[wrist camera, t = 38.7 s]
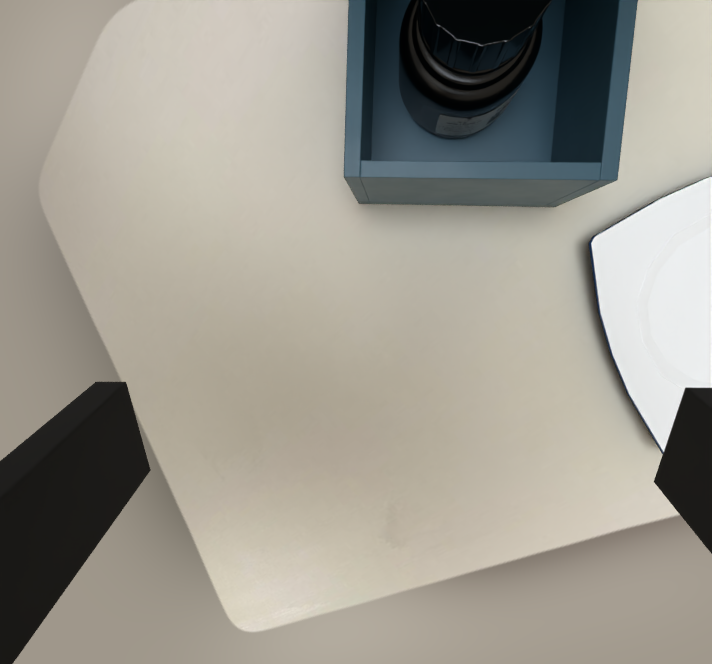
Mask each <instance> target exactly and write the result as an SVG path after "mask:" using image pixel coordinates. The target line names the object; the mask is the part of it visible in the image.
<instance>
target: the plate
mask: <svg viewBox="0 0 712 664" xmlns="http://www.w3.org/2000/svg"><path fill="white" fill-rule="evenodd" d="M589 250H590V257H591V264H592V271H593V278H594V285H595V292H596V299H597V306H598V313H599V316H600V320H601V323H602V327H603V330H604V334H605V337H606V341H607V344H608V348H609V351H610V354H611V357H612V359H613V361H614V364H615V366H616V368H617V371H618V373H619V376H620V378H621V380H622V383H623V385H624V387H625V390H626V392H627V394H628V396H629V398H630V399H631V401H632V403H633V404H634V406H635V408H636V410H637V411H638V413H639V415H640V416H641V418H642V420H643V422H644V423H645V425H646V427H647V428H648V430H649V432H650V434H651V435H652V437H653V439H654V440H655V442H656V444H657V446H658V447H659V449H660V451H661V452H662V454H663V453H664V450H665V447H666V444H667V441H668V438H669V435H670V432H671V429H672V426H673V423H674V420H675V417H676V414H677V411H678V408H679V405H680V402H681V399H682V396H683V393H684V390H685V388H712V176H711V177H708V178H705V179H703V180H700V181H698V182H696V183H694V184H691V185H689V186H687V187H685V188H682V189H680V190H678V191H675V192H673V193H671V194H669V195H666V196H664V197H662V198H660V199H657V200H656V201H654V202H652V203H650V204H649V205H647V206H645V207H643V208H642V209H640V210H638V211H637V212H635V213H633V214H631V215H630V216H628V217H626V218H624V219H623V220H621V221H619V222H617V223H616V224H614V225H612V226H610V227H609V228H607V229H605V230H603V231H602V232H600V233H598V234H596V235H595V236H593V237H592V238H591V240H590V242H589Z"/></svg>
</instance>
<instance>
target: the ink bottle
mask: <svg viewBox="0 0 712 664" xmlns="http://www.w3.org/2000/svg"><path fill="white" fill-rule="evenodd" d="M551 1H552V0H410V2H409V4H408V6H407V9H406V11H405V14H404V17H403V20H402V24H401V28H400V35H399V89H400V94H401V97H402V100H403V103H404V105H405V107H406V109H407V111H408V112H409V114H410V115H411V117H412V118H413V119H414V120H415V121H416V122H417V123H418V124H419V125H420V126H421V127H423V128H424V129H426V130H427V131H429V132H431V133H433V134H435V135H438V136H441V137H445V138H463V137H468V136H471V135H474V134H476V133H478V132H480V131H482V130H484V129H485V128H487V127H488V126H490V125H491V124H492V123H493V122H494V121H495V120H497V119H498V117H499V116H500V115H501V114H502V113H503V112H504V110H505V109H506V108H507V106H508V105H509V103H510V102H511V100H512V99H513V97H514V96H515V94H516V93H517V91H518V90H519V88H520V86H521V85H522V83H523V82H524V80H525V79H526V77H527V76H528V74H529V72H530V71H531V69H532V67H533V65H534V63H535V60H536V58H537V55H538V53H539V49H540V46H541V41H542V34H543V19H542V17H543V15H544V13H545V12H546V10H547V8H548V6H549V5H550V3H551Z"/></svg>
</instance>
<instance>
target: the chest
mask: <svg viewBox="0 0 712 664" xmlns="http://www.w3.org/2000/svg"><path fill="white" fill-rule="evenodd" d="M409 2H410V0H349V8H348V44H347V80H346V116H345V152H344V178H345V180H346V181H347V183H348V185H349V187H350V189H351V190H352V192H353V194H354V196H355V198H356V199H357V201H358V203H359V204H412V205H467V206H522V207H556V206H558V205H560V204H563V203H565V202H567V201H570V200H572V199H574V198H577V197H579V196H581V195H584V194H586V193H588V192H591V191H593V190H595V189H598V188H600V187H602V186H605V185H607V184H609V183H612V182H614V181H616V180H617V178H618V169H619V161H620V152H621V143H622V134H623V125H624V116H625V108H626V99H627V90H628V81H629V72H630V63H631V55H632V46H633V37H634V28H635V19H636V10H637V2H638V0H552V1H551V3H550V5H549V6H548V8H547V10H546V12H545V13H544V15H543V17H542V19H543V34H542V41H541V46H540V49H539V53H538V55H537V58H536V60H535V63H534V65H533V67H532V69H531V71H530V72H529V74H528V76H527V77H526V79H525V80H524V82H523V83H522V85H521V86H520V88H519V90H518V91H517V93H516V94H515V96H514V97H513V99H512V100H511V102H510V103H509V105H508V106H507V108H506V109H505V110H504V112H503V113H502V114H501V115H500V116H499V117H498V119H497V120H495V121H494V122H493V123H492V124H491V125H490V126H488V127H487V128H485V129H484V130H482V131H480V132H478V133H476V134H474V135H471V136H468V137H463V138H445V137H441V136H438V135H435V134H433V133H431V132H429V131H427V130H426V129H424V128H423V127H421V126H420V125H419V124H418V123H417V122H416V121H415V120H414V119H413V118H412V117H411V115H410V114H409V112H408V111H407V109H406V107H405V105H404V103H403V100H402V97H401V94H400V89H399V35H400V28H401V24H402V20H403V17H404V14H405V11H406V9H407V6H408V4H409Z"/></svg>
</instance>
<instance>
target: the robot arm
mask: <svg viewBox="0 0 712 664" xmlns="http://www.w3.org/2000/svg"><path fill="white" fill-rule="evenodd" d="M149 471H150V467H149V463H148V460H147V456H146V453H145V449H144V445H143V442H142V438H141V435H140V431H139V427H138V423H137V420H136V416H135V413H134V409H133V405H132V402H131V398H130V395H129V391H128V387H127V384H126V382H95V383H94V384H93V385H92V386H91V387H89V388H88V389H87V390H86V391H84V392H83V393H82V394H81V395H80V396H78V397H77V398H76V399H75V400H74V401H72V402H71V403H70V404H69V405H67V406H66V407H65V408H64V409H63V410H61V411H60V412H59V413H58V414H57V415H56V416H54V417H53V418H52V419H51V420H49V421H48V422H47V423H46V424H45V425H43V426H42V427H41V428H40V429H39V430H37V431H36V432H35V433H34V434H32V435H31V436H30V437H29V438H28V439H26V440H25V441H24V442H23V443H22V444H20V445H19V446H18V447H17V448H16V449H14V450H13V451H12V452H11V453H10V454H8V455H7V456H6V457H5V458H4V459H2V460H1V461H0V664H12V663H13V662H14V661H15V659H16V658H17V657H18V655H19V654H20V653H21V651H22V650H23V648H24V647H25V645H26V644H27V643H28V641H29V640H30V639H31V637H32V636H33V634H34V633H35V631H36V630H37V629H38V627H39V626H40V624H41V623H42V622H43V620H44V619H45V617H46V616H47V615H48V613H49V611H50V610H51V609H52V608H53V606H54V605H55V603H56V602H57V601H58V599H59V598H60V596H61V595H62V594H63V592H64V591H65V589H66V588H67V587H68V585H69V584H70V582H71V581H72V580H73V578H74V577H75V575H76V574H77V572H78V571H79V570H80V568H81V567H82V566H83V564H84V563H85V561H86V560H87V558H88V557H89V556H90V554H91V553H92V551H93V550H94V549H95V547H96V546H97V544H98V543H99V542H100V540H101V539H102V537H103V536H104V535H105V533H106V532H107V530H108V529H109V528H110V526H111V525H112V523H113V522H114V521H115V519H116V518H117V516H118V515H119V514H120V512H121V511H122V509H123V508H124V506H125V505H126V504H127V502H128V501H129V499H130V498H131V497H132V495H133V494H134V493H135V491H136V490H137V488H138V487H139V486H140V484H141V483H142V481H143V480H144V478H145V477H146V476H147V474H148V473H149ZM654 483H655V484H656V485H657V486H658V487H659V489H660V490H661V491H662V492H663V494H664V495H665V496H666V497H667V499H668V500H669V501H670V502H671V504H672V505H673V506H674V507H675V509H676V510H677V511H678V512H679V514H680V515H681V516H682V517H683V519H684V520H685V521H686V522H687V524H688V525H689V526H690V527H691V528H692V530H693V531H694V532H695V534H696V535H697V536H698V537H699V538H700V540H701V541H702V542H703V544H704V545H705V546H706V547H707V548H708V550H709V551H710V552H711V553H712V388H685V390H684V393H683V396H682V399H681V402H680V405H679V408H678V411H677V414H676V417H675V420H674V423H673V426H672V429H671V432H670V435H669V438H668V441H667V444H666V447H665V450H664V453H663V456H662V459H661V462H660V465H659V468H658V471H657V474H656V477H655V480H654Z"/></svg>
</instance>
